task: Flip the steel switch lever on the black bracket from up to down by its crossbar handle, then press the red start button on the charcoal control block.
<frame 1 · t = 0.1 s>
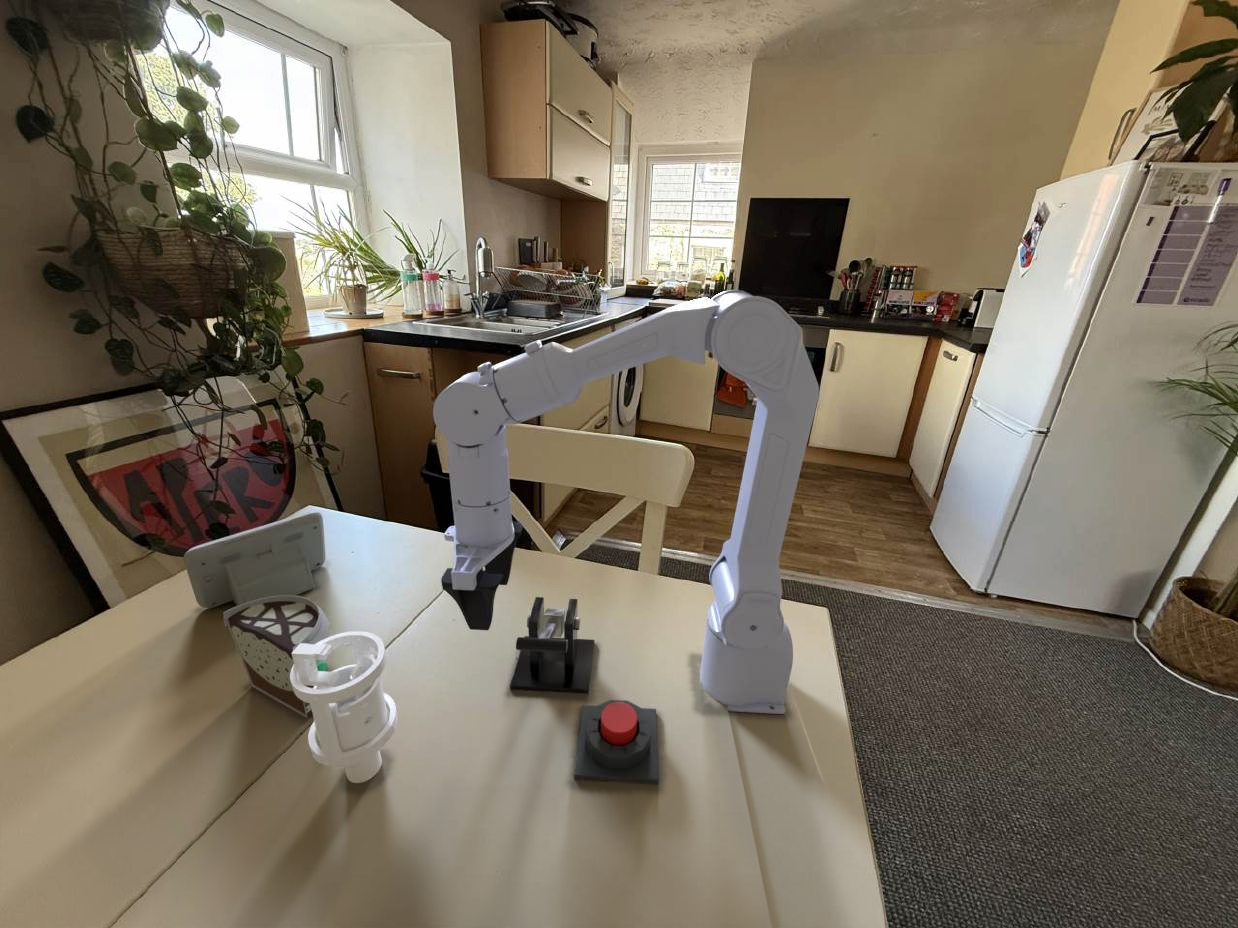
hand: (490, 603, 55), 10 cm above the table, tool pointing down, fingers open, 7 cm apart
chocolate cake slice: (306, 683, 57), on the table
switch bracket: (554, 668, 60), on the table
start button: (618, 723, 49), point 3 cm above the table, slide at 0.1 cm
white plastic cylinder: (365, 772, 47), on the table
digital clock: (272, 590, 72), on the table
switch: (548, 631, 54), point 9 cm above the table, hinge at 25.0°
control block: (617, 747, 51), on the table
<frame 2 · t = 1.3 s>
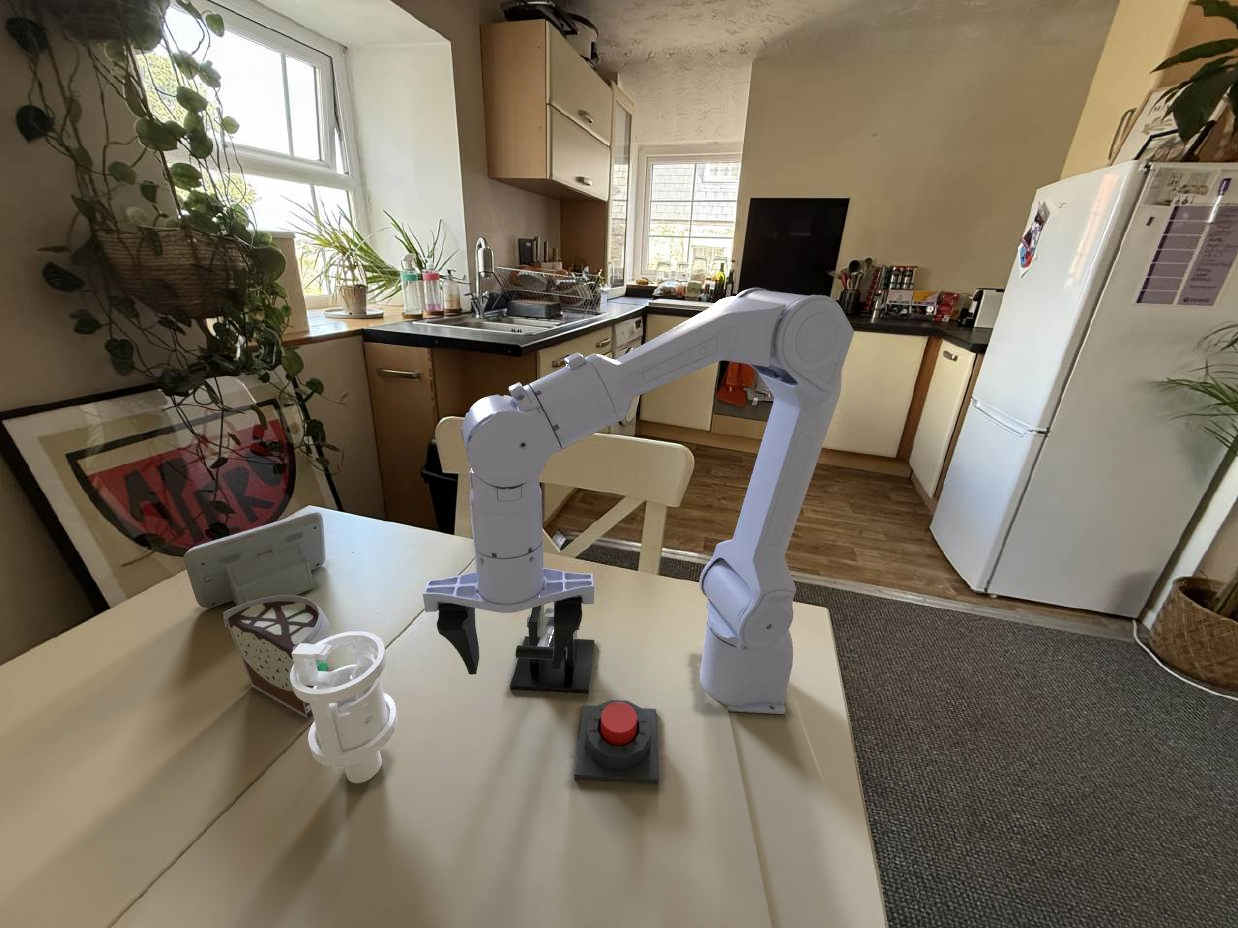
hand: (515, 663, 47), 10 cm above the table, tool pointing down, fingers open, 7 cm apart
switch: (548, 634, 54), point 8 cm above the table, hinge at 19.2°
everything else where it was.
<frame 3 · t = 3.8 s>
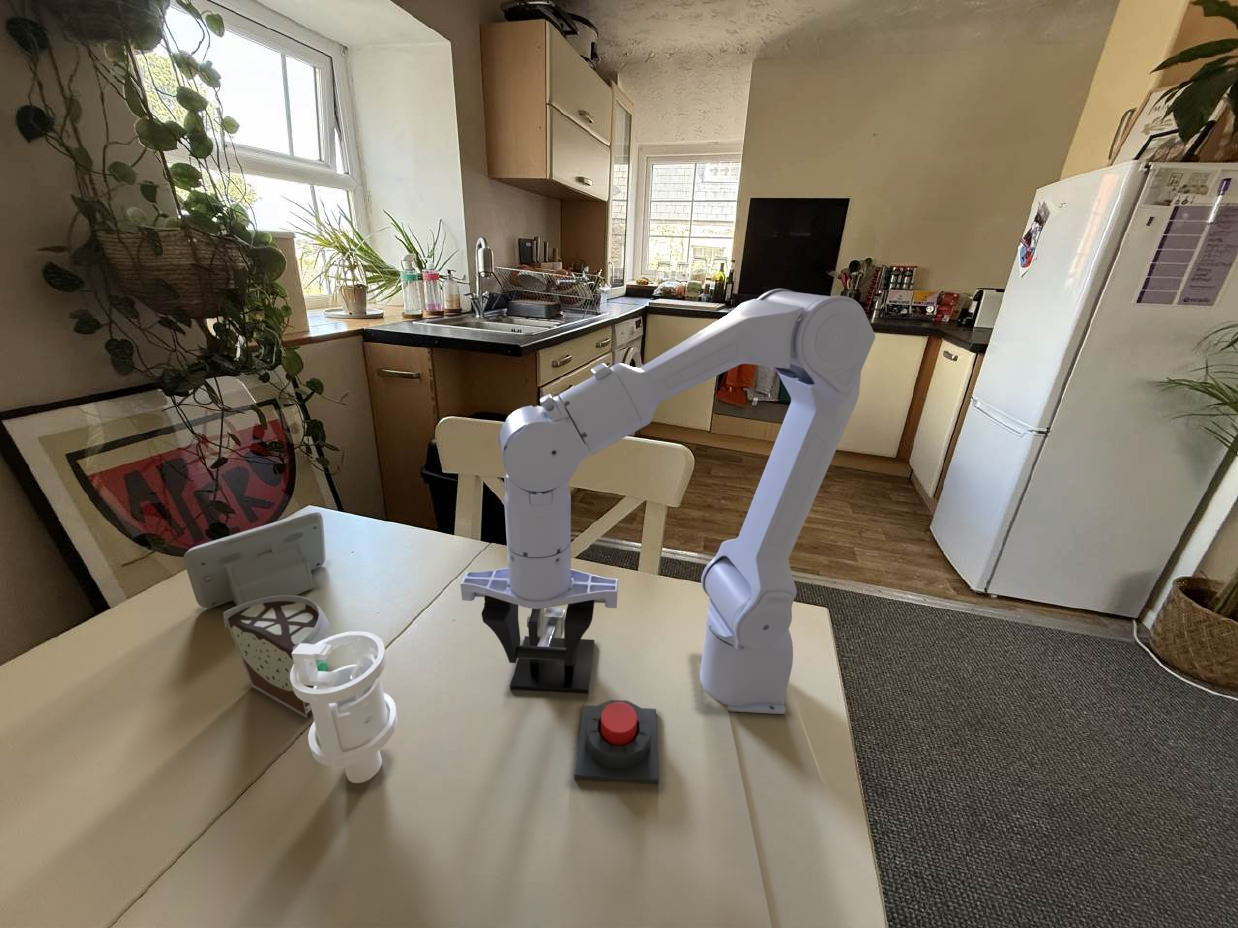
hand: (542, 657, 50), 9 cm above the table, tool pointing down, fingers closed on switch, 5 cm apart
switch: (548, 634, 54), point 8 cm above the table, hinge at 19.2°, touching gripper
everything else where it was.
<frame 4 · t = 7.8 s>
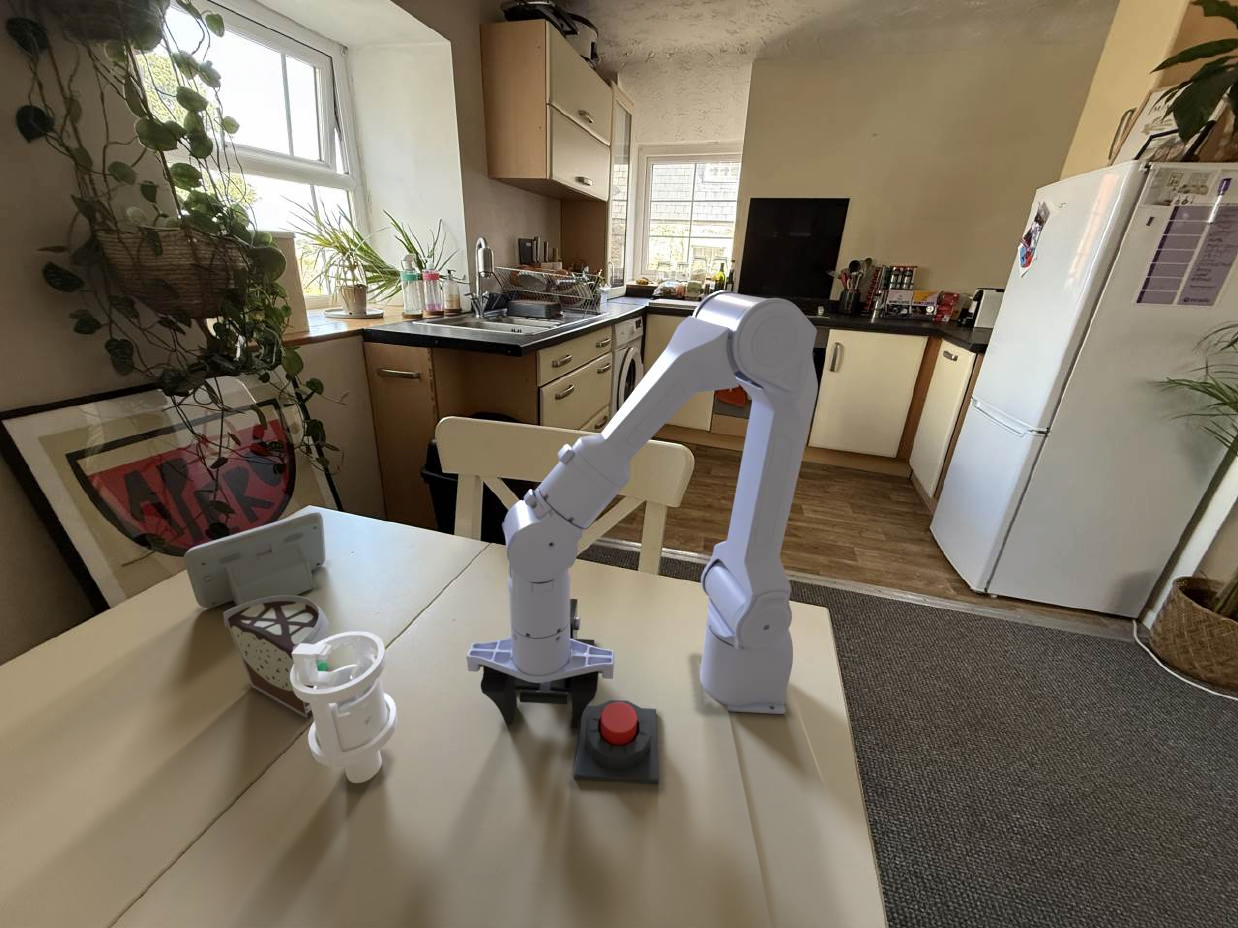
hand: (543, 719, 53), 0 cm above the table, tool pointing down, fingers open, 6 cm apart
switch: (549, 654, 55), point 5 cm above the table, hinge at -30.2°
everything else where it was.
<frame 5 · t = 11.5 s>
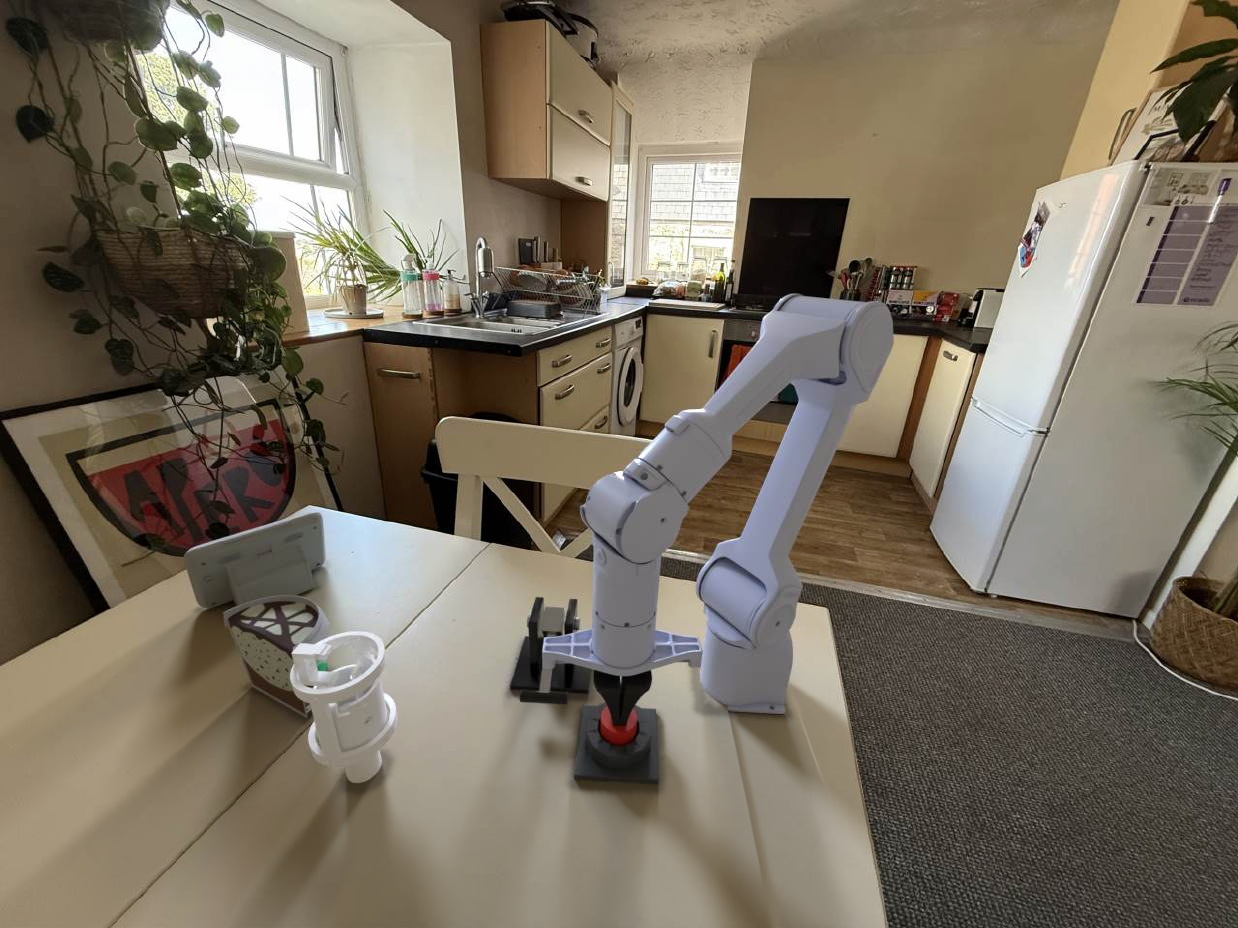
hand: (618, 717, 49), 4 cm above the table, tool pointing down, fingers closed, pressing on start button
start button: (618, 723, 49), point 3 cm above the table, slide at 0.1 cm, touching gripper
everything else where it was.
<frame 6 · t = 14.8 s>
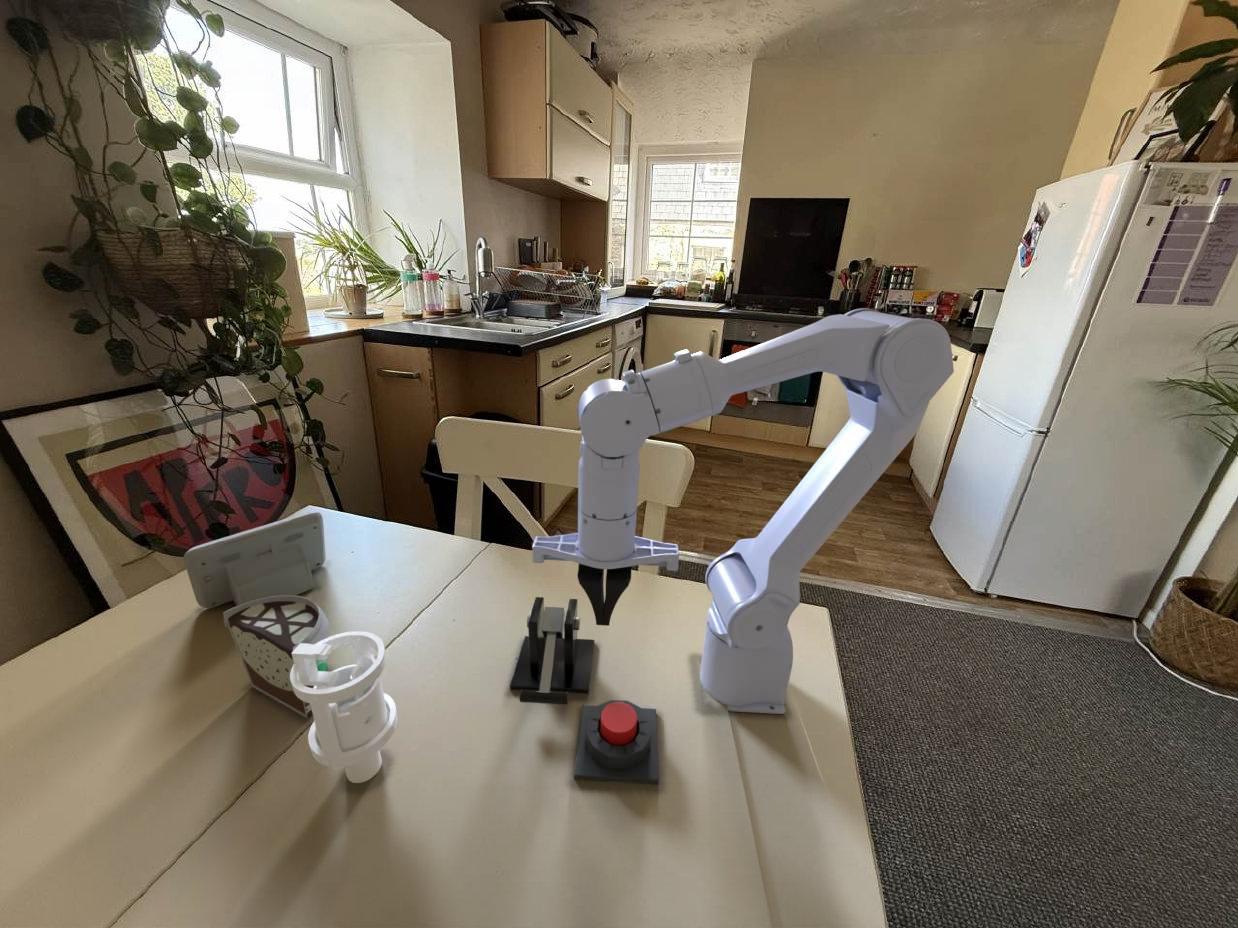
hand: (603, 619, 53), 10 cm above the table, tool pointing down, fingers closed
start button: (618, 723, 49), point 3 cm above the table, slide at 0.1 cm
everything else where it was.
at the end: switch at -30° (first picture: +25°); start button pushed in 1.2 cm at the most during the clip, back to where it started at the end; start button slide at 0.1 cm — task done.
